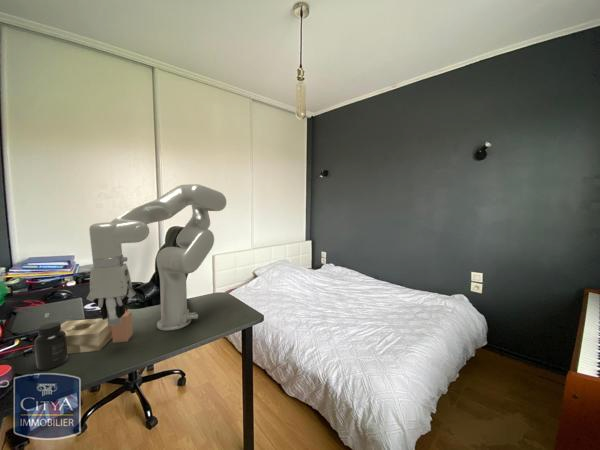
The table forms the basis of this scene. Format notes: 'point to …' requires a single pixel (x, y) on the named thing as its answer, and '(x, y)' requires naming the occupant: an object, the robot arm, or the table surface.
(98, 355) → the table surface
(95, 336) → the socket block
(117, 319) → the round metal bit
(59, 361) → the supplement bottle
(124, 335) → the square rust bit
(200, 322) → the table surface
